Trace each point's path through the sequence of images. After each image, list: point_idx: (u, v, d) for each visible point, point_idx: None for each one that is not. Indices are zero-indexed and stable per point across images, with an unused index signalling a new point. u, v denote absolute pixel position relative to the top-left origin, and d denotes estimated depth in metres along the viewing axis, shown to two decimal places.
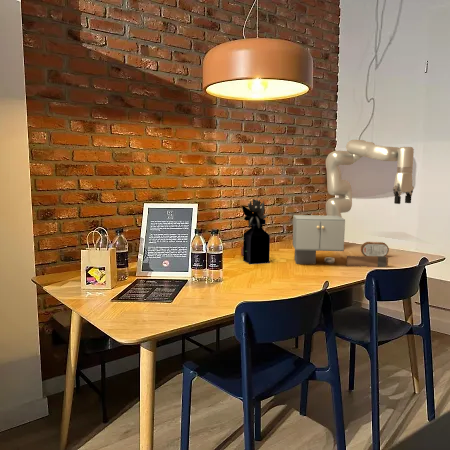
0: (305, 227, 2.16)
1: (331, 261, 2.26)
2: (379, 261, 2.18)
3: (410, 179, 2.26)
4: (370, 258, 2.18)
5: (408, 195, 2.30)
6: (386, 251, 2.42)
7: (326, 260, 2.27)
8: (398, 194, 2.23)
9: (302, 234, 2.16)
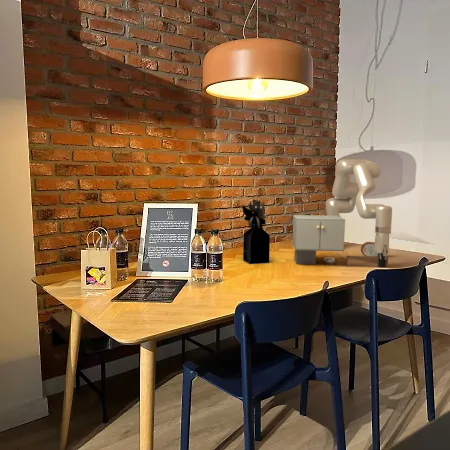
0: (305, 227, 2.16)
1: (331, 261, 2.26)
2: None
3: None
4: (370, 258, 2.18)
5: None
6: None
7: (326, 260, 2.27)
8: (385, 258, 2.16)
9: (302, 234, 2.16)
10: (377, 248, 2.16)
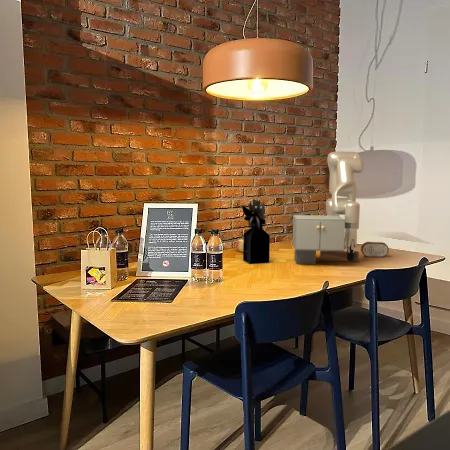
0: (305, 227, 2.16)
1: None
2: None
3: None
4: (342, 253, 2.31)
5: None
6: (386, 251, 2.42)
7: None
8: (353, 252, 2.29)
9: (302, 234, 2.16)
10: (346, 242, 2.29)
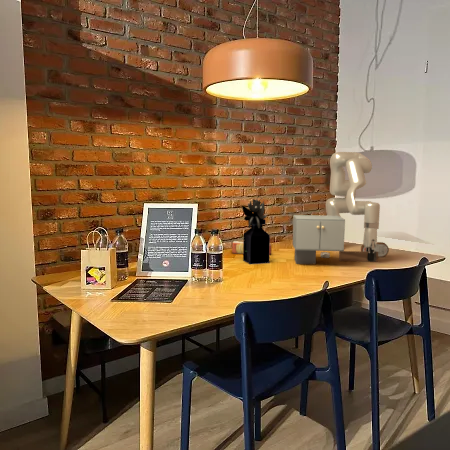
0: (305, 227, 2.16)
1: (327, 256, 2.40)
2: None
3: None
4: (361, 253, 2.31)
5: None
6: (386, 251, 2.42)
7: (322, 255, 2.40)
8: (373, 252, 2.28)
9: (302, 234, 2.16)
10: (366, 242, 2.29)
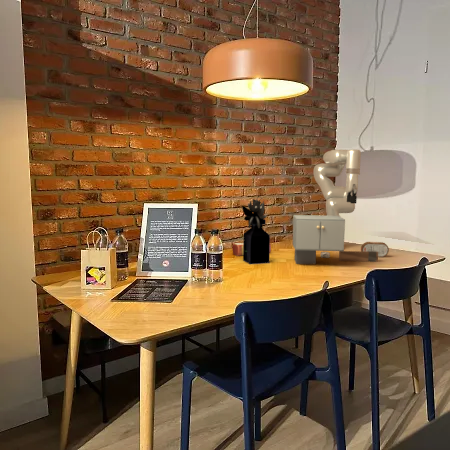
0: (305, 227, 2.16)
1: (329, 255, 2.41)
2: (370, 256, 2.31)
3: None
4: (361, 253, 2.31)
5: (350, 195, 2.47)
6: (386, 251, 2.42)
7: (326, 255, 2.40)
8: (356, 194, 2.36)
9: (302, 234, 2.16)
10: (347, 188, 2.40)
